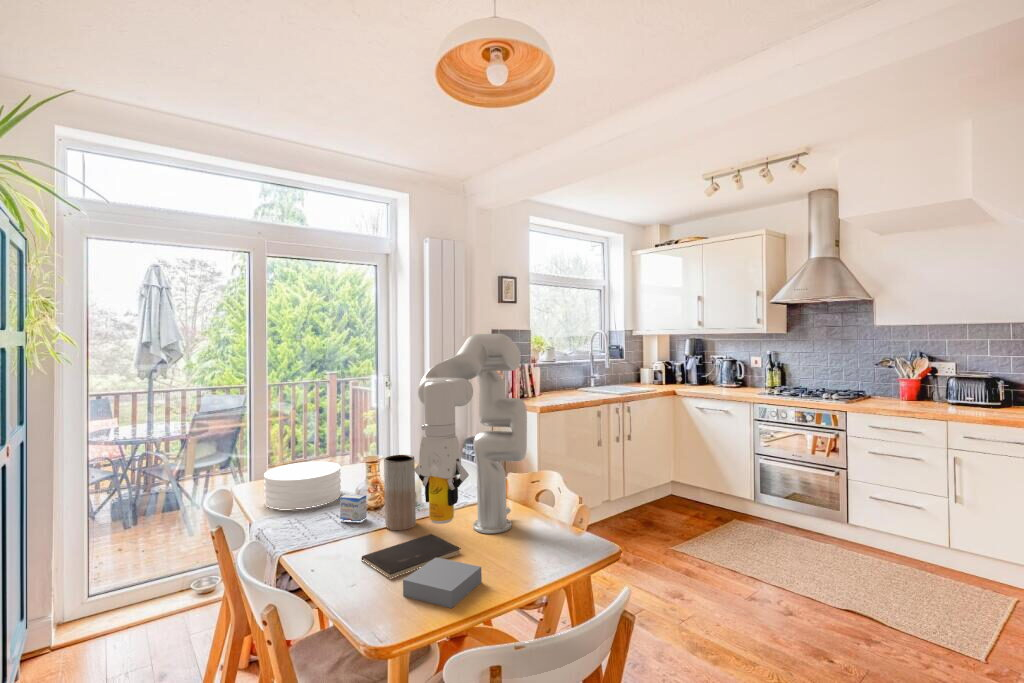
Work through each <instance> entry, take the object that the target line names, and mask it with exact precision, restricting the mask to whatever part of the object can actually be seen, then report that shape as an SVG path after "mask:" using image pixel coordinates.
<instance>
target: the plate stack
mask: <svg viewBox="0 0 1024 683" xmlns="http://www.w3.org/2000/svg"><path fill="white" fill-rule="evenodd" d="M263 480H264V481H263V485H264V487H263V489H264V491H263V492H264V494H263V495H264V505H265V504H266V505H267V506H269V507H273V508H279V509H296V508H306V507H312V506H317V505H321V504H325V503H328V502H331V501H334V500H336V499H337V498H339V497H341V496H342V491H341V489H342V488H341V487H342V486H341V482H342V481H341V465H340V464H339V463H336V462H329V461H307V462H304V461H303V462H295V463H291V464H285V465H281V466H276V467H274V468H271V469H269V470H267V471H265V472H264V474H263ZM340 495H341V496H340ZM339 499H340V498H339ZM337 500H338V499H337ZM337 500H336V501H337ZM334 502H335V501H334Z"/></svg>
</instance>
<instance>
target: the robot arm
mask: <svg viewBox="0 0 1024 683" xmlns="http://www.w3.org/2000/svg"><path fill="white" fill-rule="evenodd" d="M521 355H522V354H521V351H520V348H519V347H518V345H517V344H516V343H515V342H514V341H513V340H512V339H511V338H510V336H508V335H506V334H503V333H478V334H477V333H475V334H473V335H470V336H469V337H467V338H466V340H465V341H464V343H463V344H462V345H461V347H460V349H459V350H458V352H457V353H456V355H454V356H452V357H449V358H447V359H445V360H443V361H441V362H439V363H437V364H434V365H433V366H432V367H430V368H429V369H428V370H427V371H426V373H425V374H424V375H423V377H422V379H421V380H420V383H419V385H418V390H417V395H418V399H419V401H420V402H421V403H422V404H423V409H424V411H423V412H424V424H422V425H421V431H422V430H423V431H424V435H422V436H421V440H420V444H419V445H420V446H419V452H418V453H419V455H418V464H417V466H415V469H414V471H415V474H416V475H417V476H418V478H419V480H420V481H421V482H422V486H423V487H424V497H425V502H426V503H429V477H430V466H431V465H437V467H439V468H438V474H439V478H441V479H447V481H448V484H449V487H450V489H449V490H448V505H449V506H452V505H456V504H457V503H458V500H459V487H460V486H461V485H462V484H463V483H464V481H465V480H467V478H468V477H469V473H468V471H467V470H466V468H464V466H463V464H462V457H461V456H462V455H461V448H460V443H459V438H458V435H456V413H455V412H456V409H455V407H456V408H457V407H465V406H466V405H467V404H469V403H470V402H471V400H472V398H473V396H474V387H473V385H472V383H471V382H470V381H469V380H472V379H475V378H477V382H478V385H479V386H478V387H479V388H478V389H479V392H478V419H479V422H480V424H481V425H482V426H483V427H484V426H485V427H490V428H493V427H494V428H510V429H511V431H505V430H504V431H502V430H485V431H483V430H482V431H480V432H478V433H477V434H476V435H475V437H474V438H473V442H472V443H473V444H472V445H473V446H472V447H473V453H474V458H475V463H476V467H475V468H476V496H477V498H476V499H477V501H476V502H477V520H475V521H474V522H473V524H472V527H473V529H474V530H475V531H476V532H478V533H481V534H489V535H490V534H491V535H492V534H500V533H504V532H507V531H509V530H510V529H511V528H512V521H511V520H509V519H507V516H508V514H510V513H511V511H512V510H511V508H510V507H509V506H508V507H507V476H506V475H507V474H506V471H505V468H504V466H503V465H502V463H501V462H522V461H523V460H524V459H525V458H526V456H527V450H528V449H527V448H528V447H527V445H528V444H527V443H528V434H527V433H528V411H527V405H526V403H525V401H523V399H520V398H517V397H506V396H505V393H506V389H505V388H506V383H505V381H504V379H503V377H502V376H501V374H500V373H499V372H501V371H502V372H504V371H505V372H513V371H515V370H517V369H518V368H519V367H520V364H521V362H522V361H521V360H522V359H521V358H522V357H521ZM498 371H499V372H498ZM458 476H459V477H458ZM452 478H453V479H452Z"/></svg>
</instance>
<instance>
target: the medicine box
mask: <svg viewBox="0 0 1024 683" xmlns="http://www.w3.org/2000/svg"><path fill="white" fill-rule="evenodd" d="M367 512H368V509H367V495H364V494H363V495H362V494H350V493H346V494H344V495H341V496H340V498H339V520H340V519H343V520H351V521H361V520H363V519H365V518H366V517H367V515H368V514H367ZM367 518H368V517H367Z"/></svg>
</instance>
